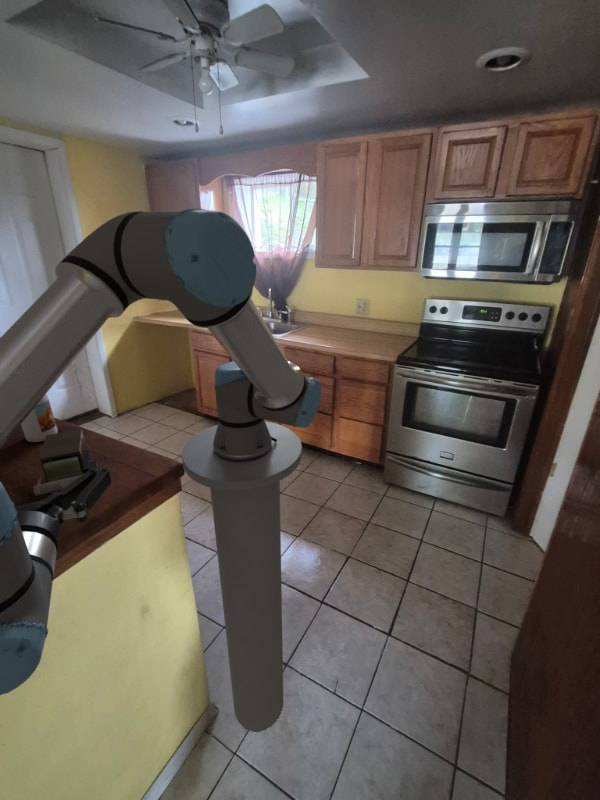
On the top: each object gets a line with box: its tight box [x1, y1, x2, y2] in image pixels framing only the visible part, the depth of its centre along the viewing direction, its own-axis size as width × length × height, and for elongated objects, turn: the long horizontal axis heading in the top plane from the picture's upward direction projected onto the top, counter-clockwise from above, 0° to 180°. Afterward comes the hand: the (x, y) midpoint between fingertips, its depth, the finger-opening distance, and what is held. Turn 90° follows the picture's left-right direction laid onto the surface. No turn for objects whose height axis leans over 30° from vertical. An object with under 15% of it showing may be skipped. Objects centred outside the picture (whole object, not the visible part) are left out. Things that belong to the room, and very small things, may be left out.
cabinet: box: [39, 428, 88, 495], centre depth 84 cm, size 11×7×10 cm, turn 27°
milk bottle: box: [20, 393, 59, 443], centre depth 101 cm, size 8×8×20 cm
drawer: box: [33, 454, 84, 497], centre depth 80 cm, size 16×9×9 cm, turn 27°
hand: (42, 466), depth 62 cm, fingers open, 13 cm apart
